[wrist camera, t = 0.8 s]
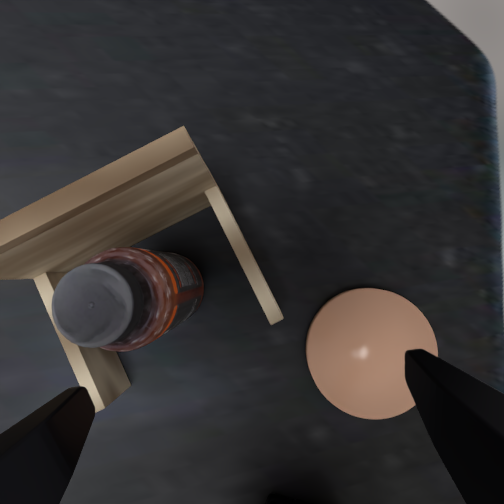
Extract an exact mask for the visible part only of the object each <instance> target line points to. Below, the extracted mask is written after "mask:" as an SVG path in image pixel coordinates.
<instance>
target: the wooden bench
mask: <svg viewBox="0 0 504 504" xmlns="http://www.w3.org/2000/svg"><path fill="white" fill-rule="evenodd" d="M209 206H212V208H213V210H214V212H215V214H216V216H217V218H218V220H219V222H220V224H221V226H222V228H223V230H224V232H225V234H226V236H227V238H228V240H229V242H230V244H231V246H232V248H233V250H234V252H235V254H236V256H237V258H238V260H239V262H240V264H241V266H242V268H243V270H244V272H245V274H246V276H247V278H248V280H249V282H250V284H251V286H252V288H253V290H254V292H255V294H256V296H257V298H258V300H259V302H260V304H261V306H262V308H263V310H264V312H265V314H266V316H267V318H268V320H269V322H270V324H271V325H272V324H274V323H276V322H278V321H280V320H282V319H284V318H283V315H282V313H281V310H280V308H279V306H278V304H277V302H276V300H275V298H274V296H273V294H272V292H271V290H270V288H269V286H268V284H267V282H266V280H265V278H264V276H263V274H262V272H261V270H260V268H259V266H258V264H257V262H256V260H255V258H254V256H253V254H252V252H251V250H250V248H249V246H248V244H247V242H246V240H245V238H244V236H243V234H242V232H241V230H240V228H239V226H238V224H237V222H236V220H235V218H234V216H233V214H232V212H231V210H230V208H229V206H228V204H227V202H226V200H225V198H224V196H223V195H222V193H221V191H220V189H219V187H218V185H217V183H216V182H215V180H214V178H213V176H212V174H211V173H210V171H209V169H208V167H207V166H206V164H205V162H204V160H203V159H202V157H201V155H200V153H199V152H198V150H197V148H196V146H195V145H194V143H193V141H192V139H191V138H190V136H189V134H188V132H187V130H186V129H185V127H184V126H183V127H181V128H179V129H177V130H175V131H173V132H171V133H169V134H167V135H165V136H163V137H161V138H159V139H157V140H155V141H153V142H151V143H149V144H147V145H146V146H144V147H142V148H140V149H138V150H136V151H134V152H132V153H130V154H128V155H126V156H124V157H122V158H120V159H118V160H116V161H114V162H112V163H110V164H108V165H107V166H105V167H103V168H101V169H99V170H97V171H95V172H93V173H91V174H89V175H87V176H85V177H83V178H81V179H79V180H77V181H75V182H73V183H71V184H69V185H67V186H66V187H64V188H62V189H60V190H58V191H56V192H54V193H52V194H50V195H48V196H46V197H44V198H42V199H40V200H38V201H36V202H34V203H32V204H30V205H28V206H27V207H25V208H23V209H21V210H19V211H17V212H15V213H13V214H11V215H9V216H7V217H5V218H3V219H1V220H0V280H8V279H34V281H35V284H36V286H37V288H38V290H39V293H40V295H41V297H42V300H43V302H44V304H45V307H46V309H47V311H48V313H49V316H50V318H51V320H52V323H53V325H54V327H55V329H56V332H57V334H58V336H59V339H60V341H61V343H62V346H63V348H64V350H65V352H66V355H67V357H68V359H69V362H70V364H71V366H72V368H73V371H74V373H75V375H76V378H77V380H78V382H79V385H80V386H83V387H85V388H87V390H88V392H89V395H90V397H91V399H92V401H93V403H94V406H95V413H96V412H98V411H100V410H102V409H104V408H106V407H107V406H108V405H109V404H110V403H111V402H113V401H114V400H115V399H116V398H117V397H118V396H120V395H121V394H122V393H123V392H124V391H125V390H126V389H128V388H129V387H130V386H131V384H130V381H129V379H128V377H127V375H126V373H125V370H124V368H123V366H122V364H121V361H120V359H119V357H118V355H117V353H116V351H110V350H106V349H102V348H100V347H97V348H88V347H82V346H78V345H76V344H74V343H71V342H70V341H69V340H68V339H66V338H65V337H64V336H63V335H62V334H61V333H60V331H59V330H58V329H57V327H56V324H55V323H54V319H53V316H52V297H53V294H54V291H55V288H56V286H57V284H58V283H59V281H60V280H61V279H62V278H63V276H64V275H65V274H67V273H68V272H69V271H71V270H72V269H74V268H76V267H78V266H80V265H84V264H85V262H87V261H88V260H89V259H90V258H91V257H93V256H95V255H97V254H98V253H100V252H103V251H105V250H108V249H111V248H118V247H130V246H132V245H134V244H136V243H138V242H140V241H142V240H144V239H146V238H148V237H150V236H152V235H154V234H156V233H158V232H160V231H162V230H164V229H166V228H168V227H170V226H172V225H174V224H176V223H178V222H180V221H182V220H184V219H186V218H188V217H189V216H191V215H193V214H195V213H197V212H199V211H201V210H203V209H205V208H207V207H209Z"/></svg>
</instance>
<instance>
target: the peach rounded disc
mask: <svg viewBox="0 0 504 504" xmlns="http://www.w3.org/2000/svg"><path fill="white" fill-rule="evenodd" d="M412 349H424V350H426V351H428V352H429V353H431V354H433V355H435V356H437V357H438V349H437V343H436V339H435V335H434V333H433V330H432V328H431V326H430V324H429V322H428V321H427V319H426V318H425V316H424V315H423V314H422V312H421V311H420V310H419V309H418V308H417V307H416V306H415V305H413V304H412V303H411V302H410V301H408V300H407V299H405V298H403V297H402V296H400V295H397V294H395V293H393V292H389V291H386V290H381V289H375V288H356V289H352V290H348V291H345V292H342V293H340V294H338V295H336V296H334V297H333V298H331V299H330V300H329V301H327V302H326V303H325V304H324V305H323V306H322V307H321V308H320V309H319V311H318V312H317V313H316V315H315V316H314V318H313V320H312V322H311V324H310V326H309V330H308V333H307V338H306V359H307V363H308V367H309V370H310V373H311V375H312V377H313V380H314V381H315V383H316V385H317V387H318V388H319V390H320V391H321V393H322V394H323V395H324V396H325V397H326V398H327V400H328V401H330V402H331V403H332V404H333V405H334V406H336V407H337V408H339V409H340V410H342V411H344V412H346V413H348V414H350V415H353V416H356V417H360V418H365V419H385V418H390V417H394V416H397V415H400V414H402V413H404V412H406V411H408V410H409V409H411V408H412V407H413V406H415V405H416V404H415V402H414V400H413V397H412V395H411V393H410V391H409V388H408V386H407V383H406V380H405V352H406V351H407V350H412Z"/></svg>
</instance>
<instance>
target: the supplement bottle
mask: <svg viewBox="0 0 504 504" xmlns="http://www.w3.org/2000/svg"><path fill="white" fill-rule="evenodd" d="M203 292H204V283H203V279H202V276H201V274H200V271H199V270H198V268H197V267H196V266H195V264H194V263H193V262H192V261H190V260H189V259H187V258H186V257H184V256H181V255H179V254H175V253H169V252H162V251H155V250H148V249H139V248H131V247H118V248H111V249H108V250H105V251H103V252H100V253H98V254H97V255H95V256H93V257H91V258H90V259H89V260H88V261H87V262H85V264H84V265H80V266H78V267H76V268H74V269H72V270H71V271H69V272H68V273H67V274H65V275H64V276H63V278H62V279H61V280H60V281H59V283H58V284H57V286H56V288H55V291H54V294H53V297H52V316H53V319H54V323H55V324H56V327H57V329H58V330H59V331H60V333H61V334H62V335H63V336H64V337H65V338H66V339H68V340H69V341H70V342H71V343H74V344H76V345H78V346H82V347H88V348H97V347H100V348H102V349H106V350H110V351H119V352H123V351H131V350H135V349H138V348H140V347H143V346H145V345H147V344H149V343H151V342H152V341H154V340H156V339H157V338H159V337H161V336H162V335H163V334H165V333H167V332H168V331H170V330H171V329H173V328H174V327H176V326H177V325H179V324H180V323H182V322H184V321H185V320H187V319H188V318H189V317H190V316H191V315H192V314H193V313H194V312H195V311H196V310H197V309H198V307H199V305H200V303H201V301H202V297H203Z"/></svg>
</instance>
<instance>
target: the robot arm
mask: <svg viewBox="0 0 504 504" xmlns="http://www.w3.org/2000/svg"><path fill="white" fill-rule="evenodd" d="M405 380H406V383H407V386H408V388H409V391H410V393H411V395H412V397H413V400H414V402H415V404H416V406H417V409H418V411H419V413H420V416H421V418H422V420H423V422H424V425H425V427H426V429H427V431H428V434H429V436H430V438H431V440H432V442H433V444H434V446H435V448H436V450H437V452H438V454H439V456H440V458H441V459H442V461H443V463H444V465H445V467H446V468H447V470H448V472H449V474H450V475H451V477H452V479H453V481H454V483H455V484H456V486H457V488H458V490H459V491H460V493H461V495H462V497H463V499H464V500H465V502H466V504H504V394H503V393H501V392H500V391H498V390H496V389H494V388H492V387H491V386H489V385H487V384H485V383H483V382H482V381H480V380H478V379H476V378H474V377H473V376H471V375H469V374H467V373H465V372H464V371H462V370H460V369H458V368H456V367H455V366H453V365H451V364H449V363H447V362H446V361H444V360H442V359H440V358H438V357H437V356H435V355H433V354H431V353H429V352H428V351H426V350H424V349H412V350H407V351H406V352H405ZM94 416H95V406H94V403H93V401H92V399H91V397H90V395H89V392H88V390H87V388H85V387H83V386H79V387H71V388H68V389H67V390H65V391H64V392H62V393H61V394H59V395H58V396H56V397H55V398H53V399H52V400H50V401H49V402H47V403H46V404H44V405H43V406H42V407H40V408H39V409H37V410H36V411H34V412H33V413H31V414H30V415H28V416H27V417H25V418H24V419H22V420H21V421H19V422H18V423H16V424H15V425H13V426H12V427H10V428H9V429H7V430H6V431H4V432H3V433H1V434H0V504H59V503H60V501H61V499H62V497H63V495H64V492H65V490H66V488H67V486H68V484H69V482H70V479H71V477H72V475H73V472H74V470H75V467H76V465H77V462H78V460H79V457H80V454H81V451H82V449H83V446H84V443H85V441H86V438H87V435H88V433H89V430H90V427H91V425H92V422H93V419H94ZM272 501H275V502H276V503H274V504H311V503H308V502H304V501H301V500H295V499H291V498H288V497H284V496H281V495H277V494H270V495H269V496H268V498H267V502H266V504H273V503H271V502H272Z"/></svg>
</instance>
